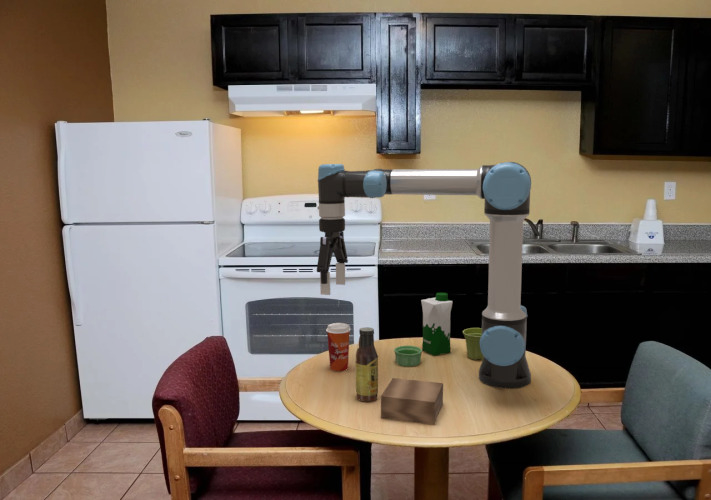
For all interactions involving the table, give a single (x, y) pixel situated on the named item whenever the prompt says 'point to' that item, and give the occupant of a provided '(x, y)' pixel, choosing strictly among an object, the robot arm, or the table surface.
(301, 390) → the table surface
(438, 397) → the walnut block
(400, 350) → the ramekin
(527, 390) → the table surface
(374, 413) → the table surface
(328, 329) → the paper cup
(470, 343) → the plant pot
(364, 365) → the sauce bottle
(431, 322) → the milk carton
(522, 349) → the robot arm
